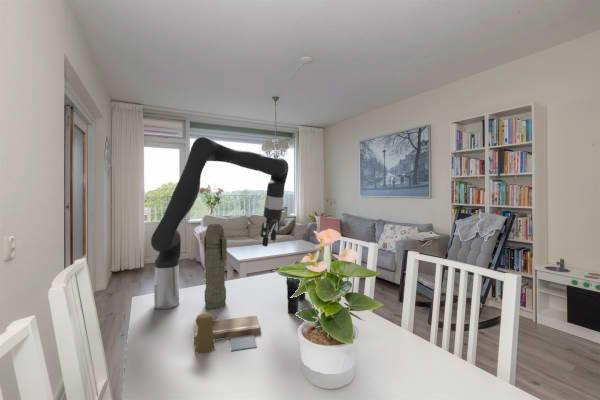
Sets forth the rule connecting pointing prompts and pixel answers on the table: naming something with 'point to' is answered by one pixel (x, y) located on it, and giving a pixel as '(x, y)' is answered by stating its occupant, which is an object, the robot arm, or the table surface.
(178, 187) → the robot arm
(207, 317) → the olive game pawn
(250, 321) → the walnut board
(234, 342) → the slate end mark
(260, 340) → the table surface
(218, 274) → the thermos
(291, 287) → the ceramic cat
